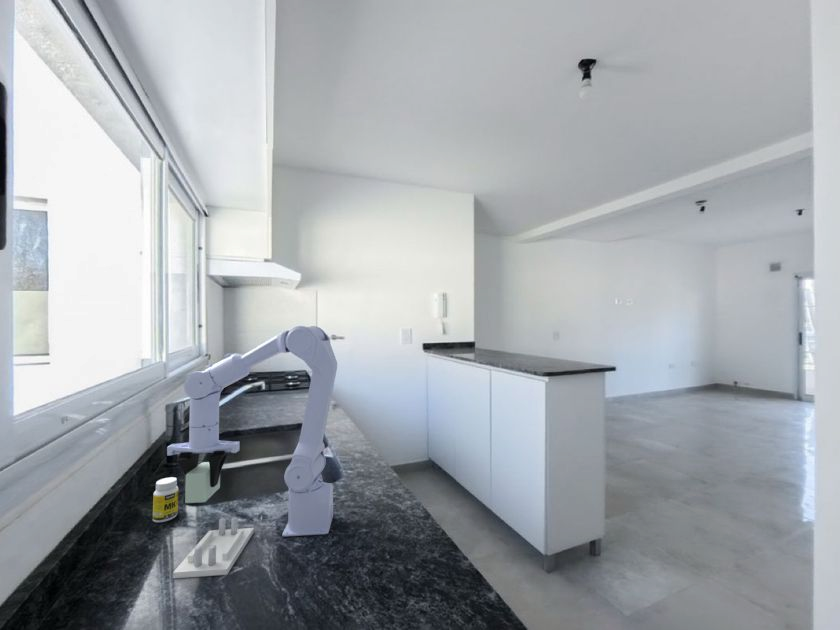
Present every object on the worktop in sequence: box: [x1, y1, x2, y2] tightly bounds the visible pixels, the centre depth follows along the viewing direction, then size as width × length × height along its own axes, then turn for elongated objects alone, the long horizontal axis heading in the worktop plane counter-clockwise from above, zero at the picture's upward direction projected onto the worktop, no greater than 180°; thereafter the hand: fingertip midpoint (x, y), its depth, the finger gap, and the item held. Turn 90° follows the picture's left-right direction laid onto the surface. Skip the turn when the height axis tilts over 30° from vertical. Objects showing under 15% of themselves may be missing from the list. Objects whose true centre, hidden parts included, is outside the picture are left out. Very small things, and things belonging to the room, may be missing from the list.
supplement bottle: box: [152, 476, 179, 523], centre depth 82 cm, size 5×5×8 cm
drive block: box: [184, 461, 221, 504], centre depth 80 cm, size 4×7×6 cm, turn 6°
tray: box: [172, 516, 255, 579], centre depth 69 cm, size 9×13×4 cm
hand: (203, 485), depth 79 cm, fingers closed on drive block, 4 cm apart
